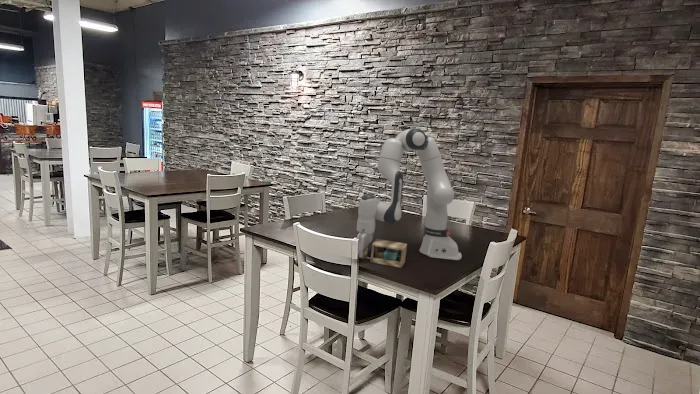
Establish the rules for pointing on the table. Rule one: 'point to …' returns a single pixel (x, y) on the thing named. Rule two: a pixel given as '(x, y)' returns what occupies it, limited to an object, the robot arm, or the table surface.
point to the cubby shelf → (392, 246)
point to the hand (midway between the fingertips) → (363, 254)
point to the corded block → (388, 254)
